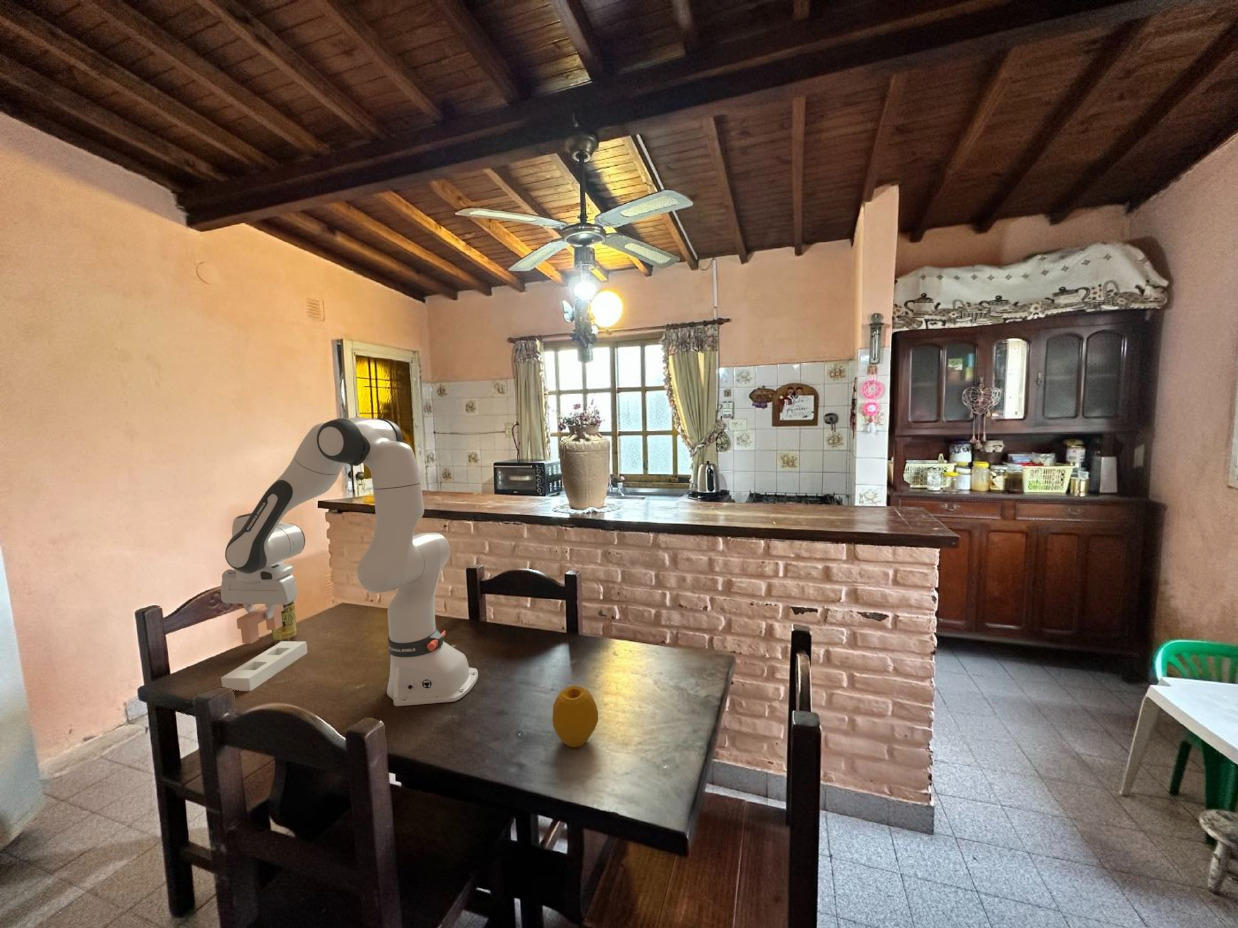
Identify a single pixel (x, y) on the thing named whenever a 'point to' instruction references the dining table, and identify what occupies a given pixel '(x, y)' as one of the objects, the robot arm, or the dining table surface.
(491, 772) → the dining table surface
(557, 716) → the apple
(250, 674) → the slot rail
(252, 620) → the prong clip
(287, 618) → the sauce bottle
